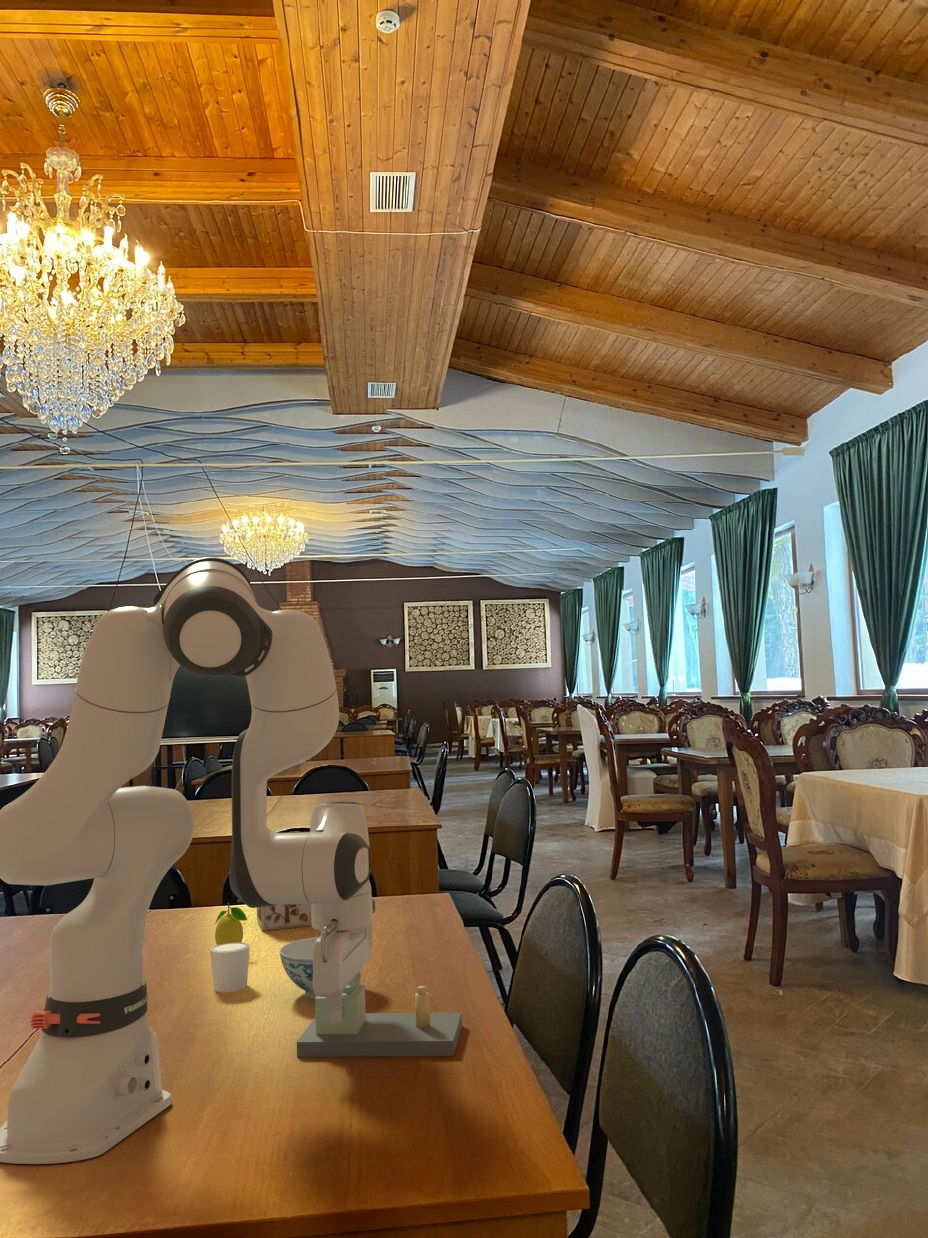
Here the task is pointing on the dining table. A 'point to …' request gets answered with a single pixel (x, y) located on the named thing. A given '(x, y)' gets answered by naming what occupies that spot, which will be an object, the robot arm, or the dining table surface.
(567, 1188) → the dining table surface
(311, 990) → the chinaware
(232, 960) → the shot glass
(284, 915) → the decorative jar
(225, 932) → the lemon
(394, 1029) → the stand board
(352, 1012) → the collar block
